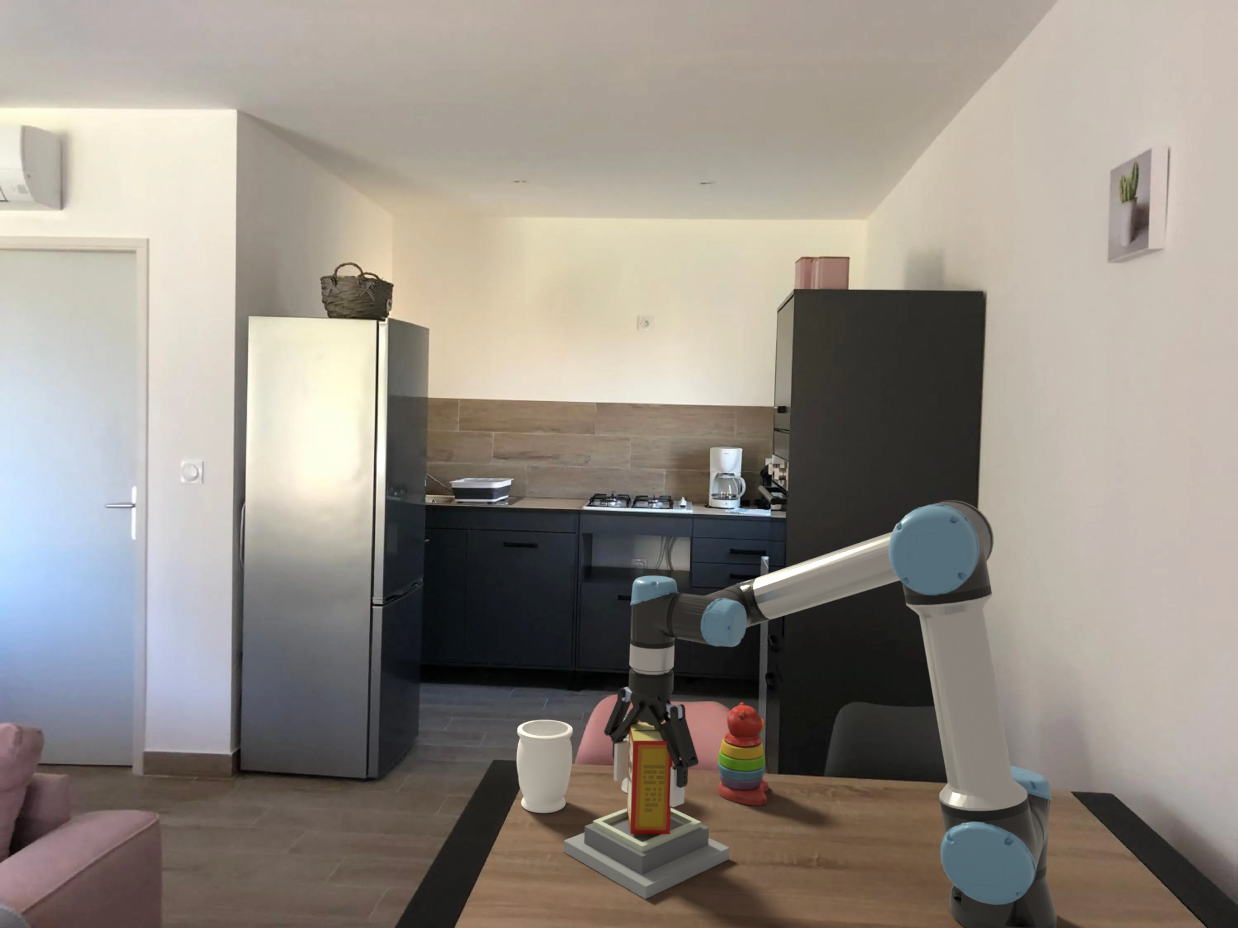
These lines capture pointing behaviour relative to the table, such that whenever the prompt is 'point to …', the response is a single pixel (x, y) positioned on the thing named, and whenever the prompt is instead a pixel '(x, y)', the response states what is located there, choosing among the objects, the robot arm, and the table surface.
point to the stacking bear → (743, 758)
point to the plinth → (651, 877)
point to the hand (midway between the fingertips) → (647, 791)
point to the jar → (544, 764)
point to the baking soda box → (648, 781)
